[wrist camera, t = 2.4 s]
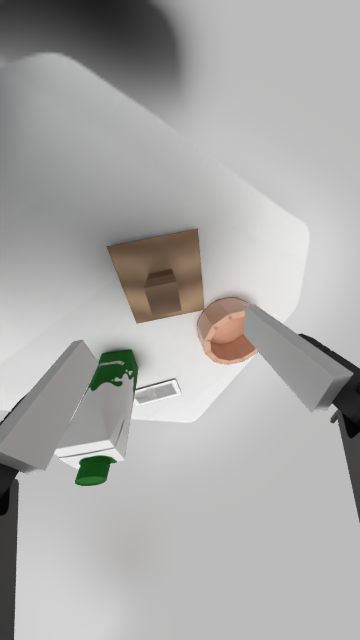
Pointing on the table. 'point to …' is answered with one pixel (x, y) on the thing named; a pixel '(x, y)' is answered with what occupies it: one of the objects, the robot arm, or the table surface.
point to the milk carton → (101, 420)
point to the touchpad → (156, 393)
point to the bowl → (225, 332)
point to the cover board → (160, 260)
